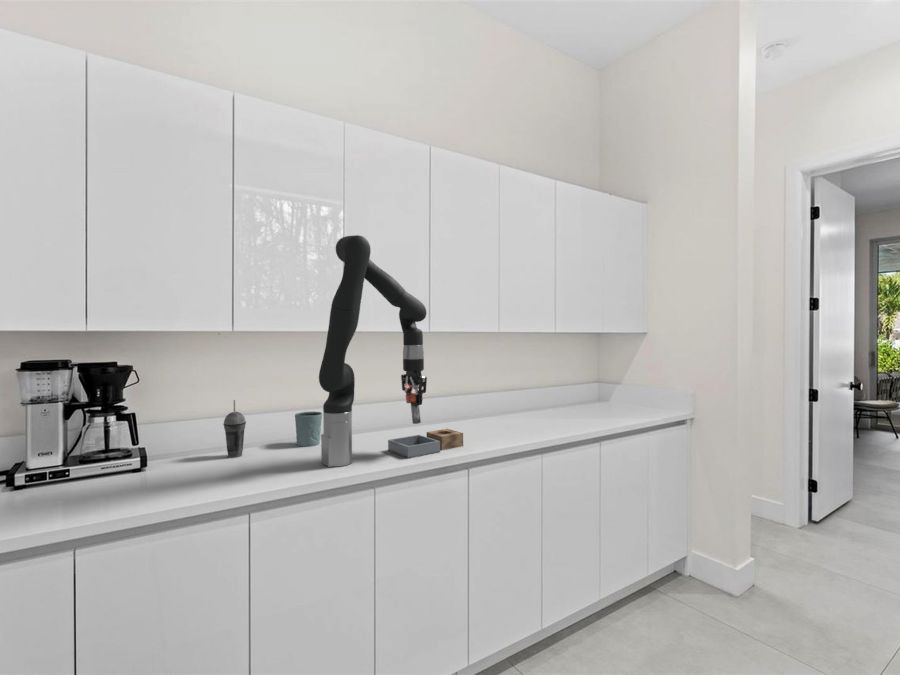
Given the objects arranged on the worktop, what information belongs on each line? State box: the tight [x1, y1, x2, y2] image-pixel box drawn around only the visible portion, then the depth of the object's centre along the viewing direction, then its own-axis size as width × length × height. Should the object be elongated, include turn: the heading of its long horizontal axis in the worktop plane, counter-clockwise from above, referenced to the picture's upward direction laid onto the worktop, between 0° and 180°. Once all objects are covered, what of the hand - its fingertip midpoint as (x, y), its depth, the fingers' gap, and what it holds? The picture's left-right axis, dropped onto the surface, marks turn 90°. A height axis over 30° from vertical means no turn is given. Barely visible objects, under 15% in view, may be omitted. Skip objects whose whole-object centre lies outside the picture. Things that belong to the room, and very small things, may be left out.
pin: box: [405, 392, 424, 425], centre depth 170 cm, size 6×6×11 cm
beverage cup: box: [223, 399, 247, 459], centre depth 165 cm, size 7×7×20 cm
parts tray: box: [387, 434, 441, 459], centre depth 170 cm, size 14×14×4 cm
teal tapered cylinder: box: [294, 411, 323, 448], centre depth 182 cm, size 10×10×12 cm
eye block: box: [426, 428, 464, 451], centre depth 178 cm, size 10×10×5 cm
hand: (413, 403), depth 170 cm, fingers closed on pin, 6 cm apart
